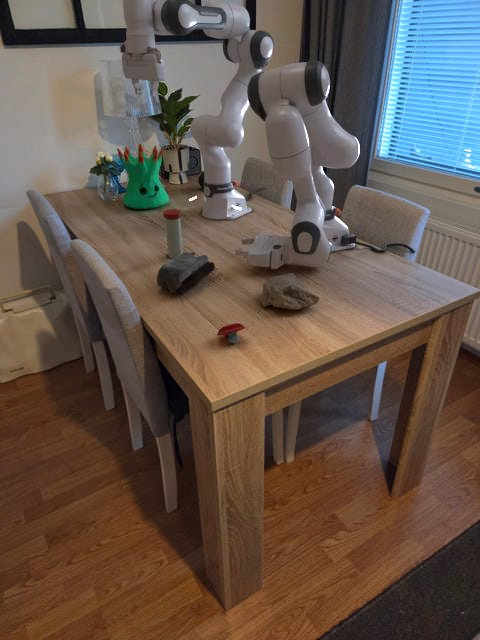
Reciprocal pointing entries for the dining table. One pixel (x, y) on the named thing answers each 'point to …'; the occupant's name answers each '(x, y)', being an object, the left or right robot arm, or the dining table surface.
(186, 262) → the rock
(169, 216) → the lid
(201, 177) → the toy
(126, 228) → the dining table surface
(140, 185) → the toy
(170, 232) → the jar
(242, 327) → the red toy mushroom
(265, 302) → the rough grey stone
